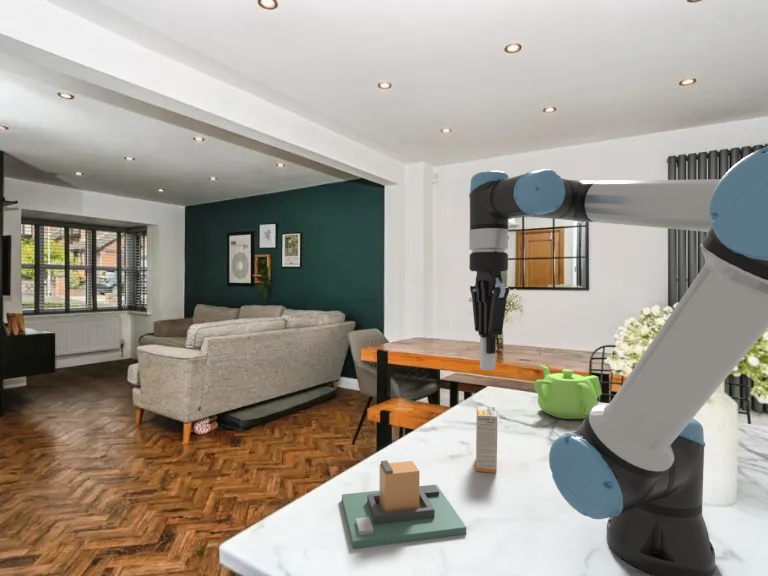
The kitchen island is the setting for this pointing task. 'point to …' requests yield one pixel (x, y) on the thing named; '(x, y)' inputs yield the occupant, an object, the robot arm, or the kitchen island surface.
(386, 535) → the header board
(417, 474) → the plug
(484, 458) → the supplement box
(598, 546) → the kitchen island surface
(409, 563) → the kitchen island surface
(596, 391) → the teapot
